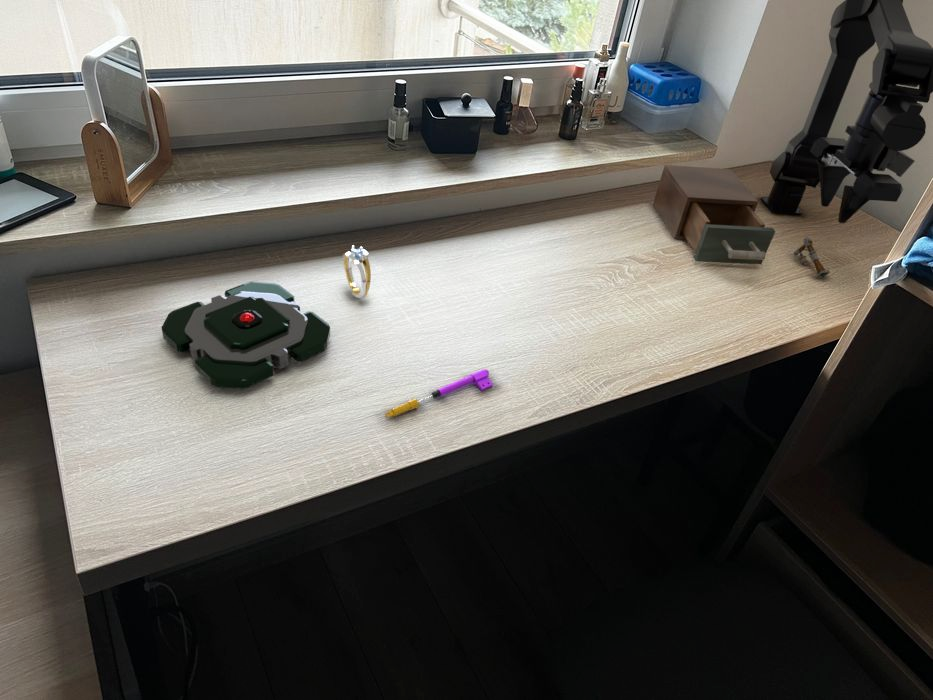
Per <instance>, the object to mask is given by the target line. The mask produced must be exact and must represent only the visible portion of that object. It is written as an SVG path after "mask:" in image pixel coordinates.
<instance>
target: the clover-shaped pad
mask: <svg viewBox="0 0 933 700" xmlns="http://www.w3.org/2000/svg"><path fill="white" fill-rule="evenodd" d="M210 301H211V302H209V303H207V304H205V303H203V302H202V301H195V302H192V303H190V304H187V305H185V306H182V307H179V308H177V309H173V310H171V311H170V312H169V313H168V314H167V315H166V318H165V320H164V322H163V324H162V325H161V333H162V338H163V340H164V341H166V343H168V344H169V345H170V346H171V347H172V349H174V350H175V351H176V352H177V353H184V352H186V351H189V352H190V357H191V360H192V361H193V362H194V369H195V371H196V372H197V373H198V374H199V375H200V376H201V377H202V378H203V379H204V380H206V381H207V382H208V384H209V385H211V386H212V387H216V388H226V389H241V390H242V389H243V390H244V389H247V388H250V387H253V386H255V385H256V384H258V383H261V382H263V381H265V380H267V379H269V378H272V377H273V376H274V375H275V368H276V369H278V370H282V369H284V368H286V367H288V366H289V360H290V359H293V360H294V361H295V362H297V363H303V362H305V361H307V360H310V359H311V358H314V357H316V356H318V355H320V354H322V353H324V352H325V351H326V350H327V349H328V347H329V342H330V338H331V325H330V323H328V322H326V321H325V319H324V318H322V317H320V316H319V315H317V313H316V312H314V311H306V312H304V313H303V312H301V306H300V305H301V304H299V303H298V302H296V301H295V295H294V294H292V293H291V292H290V291H288V290H286V289H285V288H284V286H282V285H280V284H278V283H276V282H262V281H247V282H245V283H242V284H240V285H237V286H233V287H231V288H229V289H226V290H225V291H224V295H220V294H218V295H216V296H213V297H211V298H210Z"/></svg>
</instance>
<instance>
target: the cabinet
mask: <svg viewBox="0 0 933 700" xmlns="http://www.w3.org/2000/svg"><path fill="white" fill-rule="evenodd" d="M691 201H693V202H710V203H726V204H743V205H749V206H750V207H751V209H752V210H753V211H754V212H755V213H756V209H757V207H758V204H759V200H758V199H757V198H756V196H755V195H754V194H753V193H752V192H751V191H750V190H749V189H748V187H747V186H746V185H745V184H744V183H743V182H742V181H741V180H740V178H739V177H738V176H737V174H735V173H734V171H733V170H732V169H730V168H720V167H719V168H718V167H705V166H689V165H673V164H664V166H663V169H662V173H661V177H660V180H659V183H658V186H657V190H656V193H655V196H654V200H653V203H652V206H653V207H654V209H655V211H656V212H657V214H658V215H659V217H660V219H661V220H662V222H663V224H664V225H665V226H666V228H667V230H668V232H669V233H670V234H671V236H672V238H673V239H674V240H686V241H687V239H686V238H685V236H684V235H683V233H682V232H681V229H682V226H683V223H684V220H685V217H686V214H687V211H688V208H689V205H690V202H691Z"/></svg>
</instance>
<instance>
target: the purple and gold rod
mask: <svg viewBox="0 0 933 700" xmlns="http://www.w3.org/2000/svg"><path fill="white" fill-rule="evenodd" d="M489 374H490V371H489V370H488V369H481V370H478V371H476V372H474V373H471V374H469V376H466V377H464V378H461V379H459V380H457V381H454V382H452V383H449V384H447V385H445V386H442V387H440V388H437V389H436V390H434V391H433V392H431V395H429V396H427V397H424V398H422V399H420V400H418V399H417V398H412V399H410V400H407V401H406V402H405V403H403V404H400V405H398V406H395V407H393V408H391V409H390V410H388V411H387V412H385V413H384V415H385V417H387V419H389V418H391V417H396V416H398V415H401V414H403V413H405V412H408V411H413V410H414V409H417V408H419V407H420V403H422V402H424V401H426V400H428V399H431V398H433V399H437V398H439V397H443V396H446V395H448V394H450V393H452V392H454V391H457V390H459V389H461V388H464V387H466V386H468V385H469V386H470V385H471V384H472V385H473V386H477V387H478V389H479V390H480V391H481V392H482V391H485V390H488V389H490V388H492V387H493V385H494V384H493V382H492V381H491V380H490V379H489Z"/></svg>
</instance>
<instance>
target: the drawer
mask: <svg viewBox="0 0 933 700" xmlns="http://www.w3.org/2000/svg"><path fill="white" fill-rule="evenodd" d="M681 232H682V233H683V235H684V236H685V238H686V239H687V240H686V241H687V242H688V244H689V245H690V247H691V248H692V250H693V251H694V255H693V260H694V261H695V262H699V263H719V264H720V263H721V264H739V265H740V264H743V265H762V264H763V262H764V260H765V258H766V254H767V252H768V250H769V247H770V245H771V243H772V241H773V238H774V236H775V234H776V230H775V229H774V227H766V224H765V222H764V221H763V220H762V219H761V218H760V217H759V216H758V214H757V213H756V211H755V212H754V211H753V210H752V209H751V207H750V206H749V205H743V204H726V203H710V202H693V201H691V202H690V205H689V208H688V211H687V214H686V217H685V220H684V223H683V226H682V229H681Z"/></svg>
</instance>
